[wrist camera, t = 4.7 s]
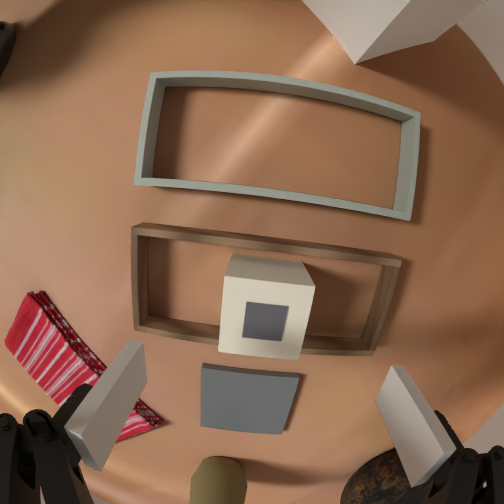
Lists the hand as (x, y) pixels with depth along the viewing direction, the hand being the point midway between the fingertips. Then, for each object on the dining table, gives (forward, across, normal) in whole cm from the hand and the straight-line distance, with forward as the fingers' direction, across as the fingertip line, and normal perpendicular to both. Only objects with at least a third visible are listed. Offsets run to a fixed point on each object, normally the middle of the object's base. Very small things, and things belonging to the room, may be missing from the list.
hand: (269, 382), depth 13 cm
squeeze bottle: (+12, -2, -30) cm, 32 cm away
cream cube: (+12, 0, 0) cm, 12 cm away
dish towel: (+13, -24, -18) cm, 33 cm away
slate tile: (+12, 0, -14) cm, 18 cm away
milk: (+12, +7, +30) cm, 33 cm away
